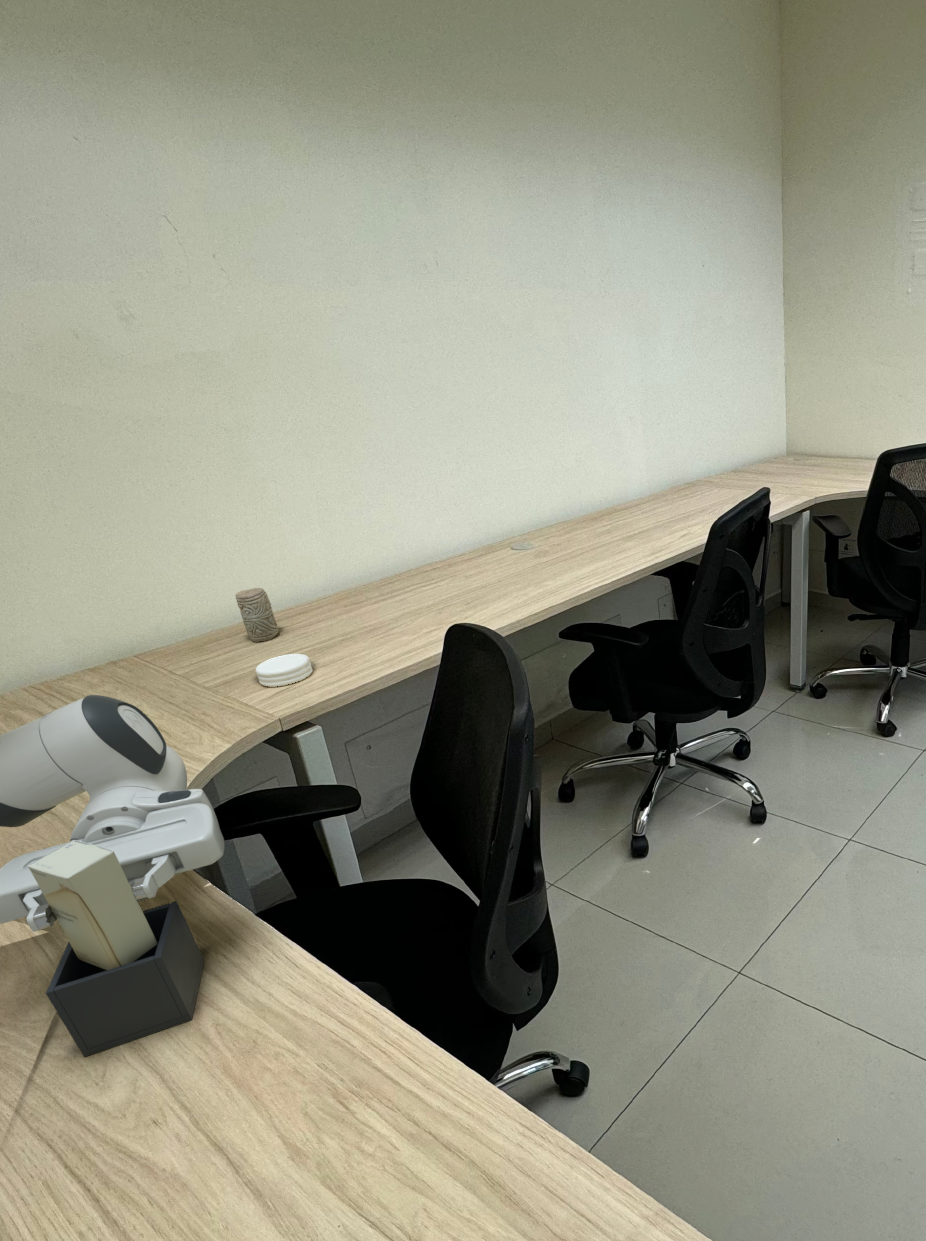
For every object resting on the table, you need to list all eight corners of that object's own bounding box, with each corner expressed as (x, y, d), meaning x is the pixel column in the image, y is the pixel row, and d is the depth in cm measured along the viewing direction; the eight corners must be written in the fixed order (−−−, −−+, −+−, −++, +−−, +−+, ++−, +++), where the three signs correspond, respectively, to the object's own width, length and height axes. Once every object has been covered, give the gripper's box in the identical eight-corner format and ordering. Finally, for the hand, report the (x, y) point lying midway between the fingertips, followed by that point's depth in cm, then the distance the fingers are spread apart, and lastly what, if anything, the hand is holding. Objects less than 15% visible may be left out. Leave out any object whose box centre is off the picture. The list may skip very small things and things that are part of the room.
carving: (245, 645, 178) (228, 597, 173) (256, 634, 184) (240, 587, 179) (274, 641, 179) (258, 594, 174) (284, 630, 185) (269, 584, 180)
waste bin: (83, 1057, 75) (45, 993, 71) (106, 992, 83) (72, 931, 79) (192, 1020, 79) (160, 956, 75) (204, 960, 86) (176, 900, 82)
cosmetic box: (77, 960, 77) (22, 866, 71) (122, 929, 80) (73, 837, 75) (118, 975, 75) (64, 879, 69) (163, 942, 78) (114, 849, 73)
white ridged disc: (310, 663, 165) (305, 648, 164) (315, 678, 158) (311, 663, 156) (258, 676, 160) (253, 661, 159) (261, 692, 153) (255, 676, 151)
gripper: (-6, 839, 80) (-62, 922, 69) (217, 784, 88) (200, 850, 77) (21, 886, 83) (-28, 973, 71) (235, 828, 91) (221, 898, 79)
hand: (92, 908), depth 74 cm, fingers closed on cosmetic box, 7 cm apart
